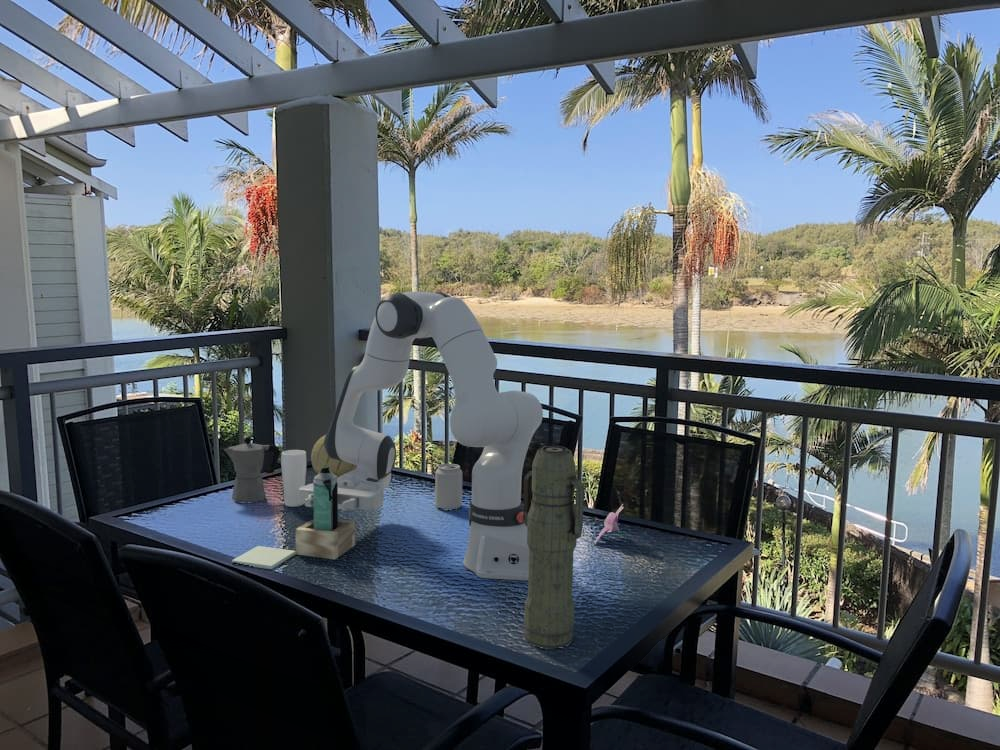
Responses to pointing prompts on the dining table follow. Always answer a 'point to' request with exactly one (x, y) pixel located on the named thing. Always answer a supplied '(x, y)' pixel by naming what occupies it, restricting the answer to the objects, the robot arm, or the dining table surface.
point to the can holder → (325, 540)
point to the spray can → (325, 500)
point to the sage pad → (264, 557)
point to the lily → (611, 523)
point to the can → (448, 486)
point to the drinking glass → (293, 475)
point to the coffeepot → (250, 470)
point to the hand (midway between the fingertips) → (323, 505)
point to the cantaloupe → (328, 460)
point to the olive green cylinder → (551, 545)
